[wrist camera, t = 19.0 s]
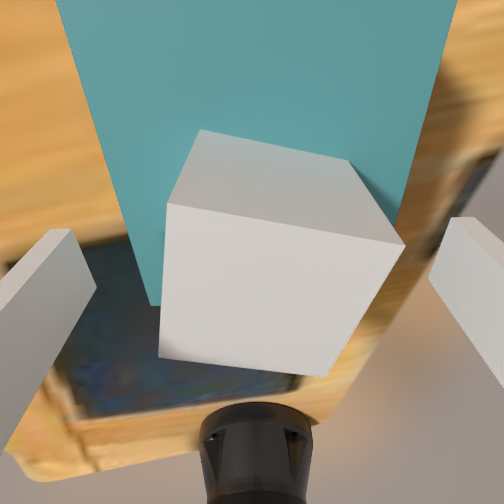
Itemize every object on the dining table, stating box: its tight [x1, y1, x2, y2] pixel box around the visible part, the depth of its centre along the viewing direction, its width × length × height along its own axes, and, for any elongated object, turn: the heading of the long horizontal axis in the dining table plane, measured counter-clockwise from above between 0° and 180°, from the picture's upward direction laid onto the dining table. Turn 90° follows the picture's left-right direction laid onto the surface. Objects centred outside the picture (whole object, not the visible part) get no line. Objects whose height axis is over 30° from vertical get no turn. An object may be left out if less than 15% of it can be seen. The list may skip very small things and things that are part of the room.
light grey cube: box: [158, 129, 405, 378], centre depth 12 cm, size 6×6×6 cm
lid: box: [56, 0, 457, 306], centre depth 14 cm, size 14×12×1 cm
